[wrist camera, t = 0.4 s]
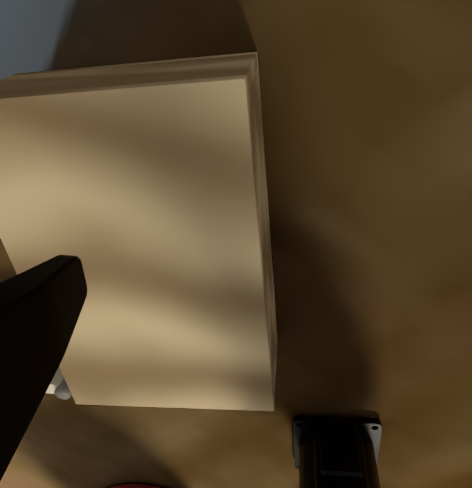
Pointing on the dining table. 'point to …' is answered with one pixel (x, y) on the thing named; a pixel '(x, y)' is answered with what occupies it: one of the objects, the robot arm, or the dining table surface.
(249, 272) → the cabinet
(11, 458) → the robot arm
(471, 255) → the dining table surface
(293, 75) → the dining table surface
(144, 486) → the canister
